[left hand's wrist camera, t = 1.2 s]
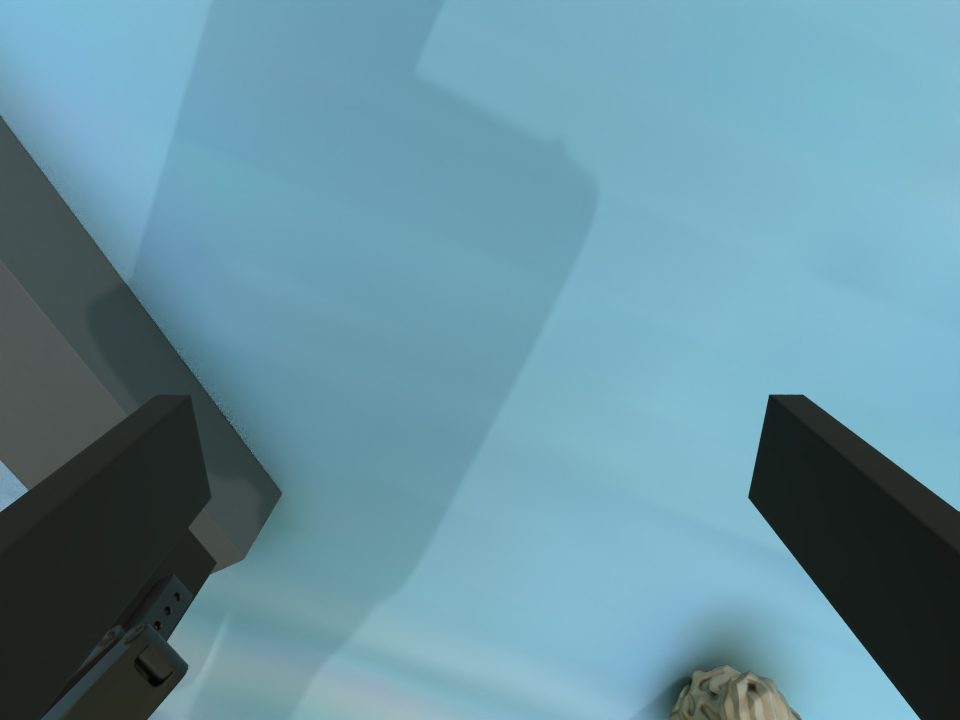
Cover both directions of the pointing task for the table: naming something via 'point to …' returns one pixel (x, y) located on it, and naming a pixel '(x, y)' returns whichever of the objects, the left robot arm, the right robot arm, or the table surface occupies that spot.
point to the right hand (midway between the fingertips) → (93, 593)
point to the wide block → (96, 360)
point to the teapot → (731, 697)
